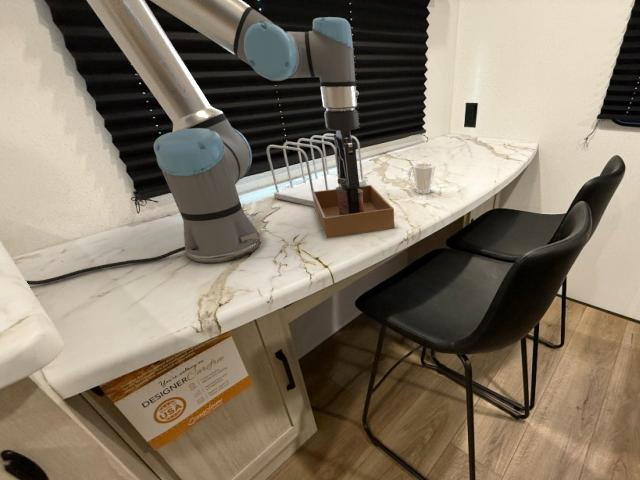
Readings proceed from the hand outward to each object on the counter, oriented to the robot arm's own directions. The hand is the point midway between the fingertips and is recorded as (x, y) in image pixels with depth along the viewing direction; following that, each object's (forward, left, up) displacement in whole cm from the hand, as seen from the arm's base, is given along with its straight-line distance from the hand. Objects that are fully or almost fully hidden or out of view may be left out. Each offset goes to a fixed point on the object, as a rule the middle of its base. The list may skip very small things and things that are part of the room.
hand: (351, 208), depth 86 cm
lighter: (0, 0, -3) cm, 3 cm away
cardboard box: (0, 0, -3) cm, 3 cm away
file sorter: (-4, +26, -3) cm, 26 cm away
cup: (+26, +15, -3) cm, 30 cm away
